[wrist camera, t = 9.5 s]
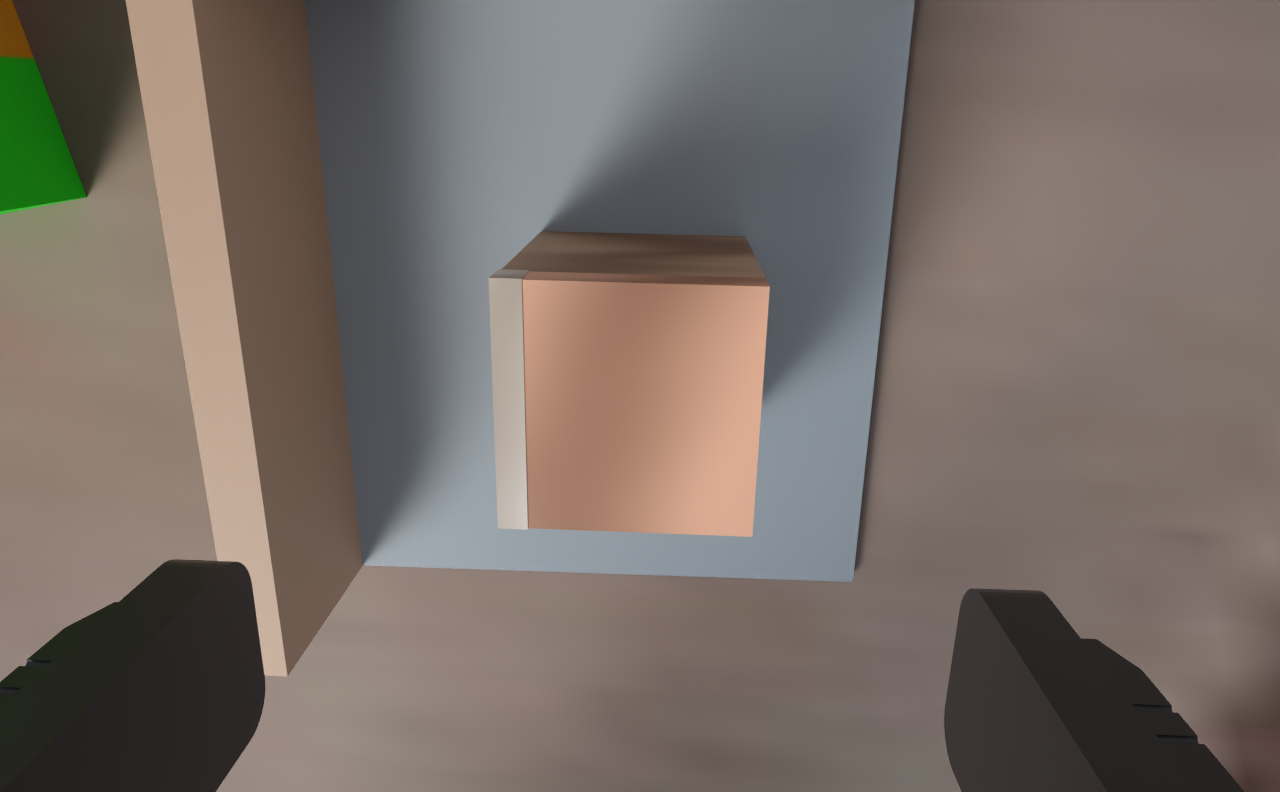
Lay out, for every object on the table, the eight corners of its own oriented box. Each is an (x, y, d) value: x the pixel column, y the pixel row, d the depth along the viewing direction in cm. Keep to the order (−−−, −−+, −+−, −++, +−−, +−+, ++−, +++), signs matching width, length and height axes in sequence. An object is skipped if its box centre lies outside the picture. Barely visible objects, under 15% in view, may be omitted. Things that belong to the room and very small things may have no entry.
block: (745, 235, 21) (770, 285, 15) (733, 428, 23) (752, 538, 17) (539, 230, 21) (488, 277, 16) (542, 422, 23) (497, 528, 17)
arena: (850, 574, 24) (895, 699, 19) (326, 557, 25) (235, 674, 20) (916, -58, 19) (1002, -115, 14) (253, -63, 20) (105, -120, 15)
